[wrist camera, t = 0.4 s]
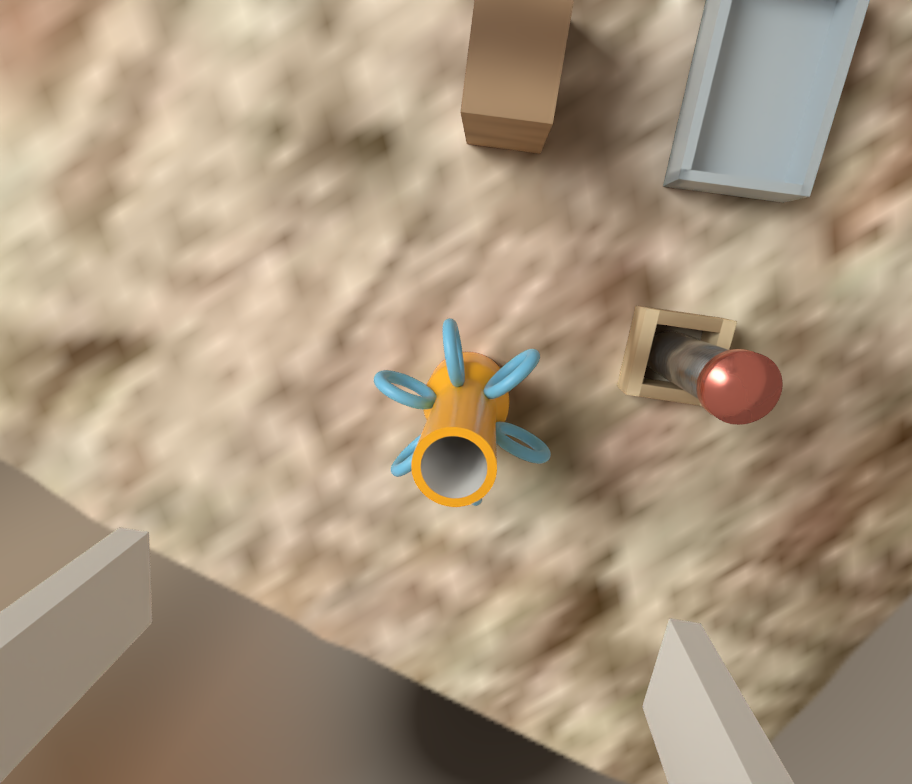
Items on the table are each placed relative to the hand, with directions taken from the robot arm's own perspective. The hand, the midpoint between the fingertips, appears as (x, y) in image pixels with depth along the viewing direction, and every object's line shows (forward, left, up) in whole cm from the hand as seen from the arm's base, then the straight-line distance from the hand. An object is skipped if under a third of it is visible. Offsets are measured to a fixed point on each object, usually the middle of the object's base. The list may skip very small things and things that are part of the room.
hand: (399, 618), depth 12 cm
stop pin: (-5, +15, -26) cm, 30 cm away
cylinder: (0, +1, -26) cm, 26 cm away
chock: (-21, +1, -26) cm, 33 cm away
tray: (-22, +16, -26) cm, 37 cm away
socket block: (-5, +15, -26) cm, 30 cm away
